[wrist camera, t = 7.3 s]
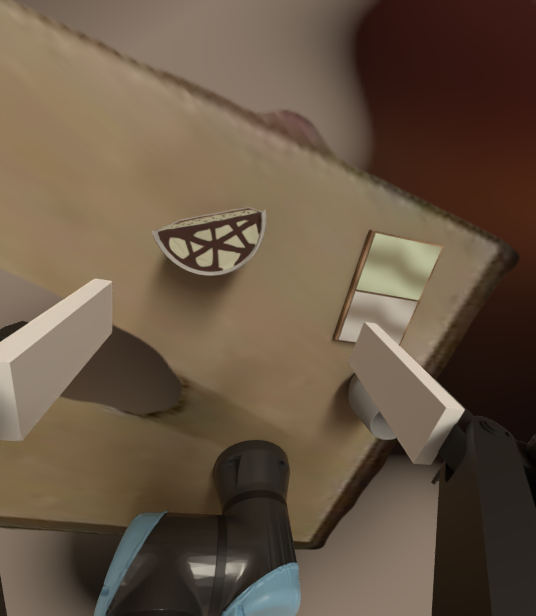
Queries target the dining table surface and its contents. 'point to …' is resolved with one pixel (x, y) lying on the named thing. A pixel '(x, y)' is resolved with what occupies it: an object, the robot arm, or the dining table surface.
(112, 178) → the dining table surface
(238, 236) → the food container
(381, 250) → the green and white board
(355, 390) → the cup
